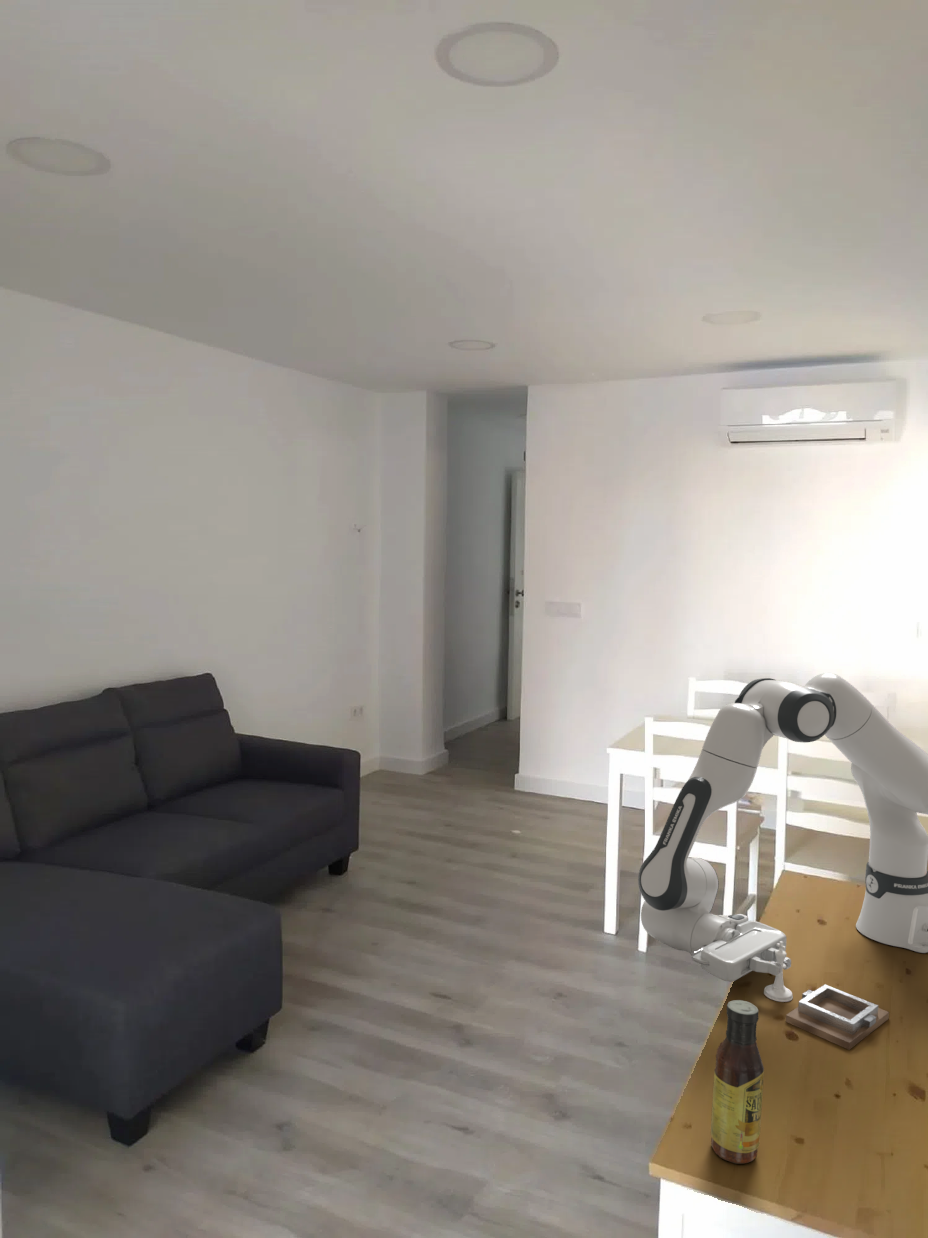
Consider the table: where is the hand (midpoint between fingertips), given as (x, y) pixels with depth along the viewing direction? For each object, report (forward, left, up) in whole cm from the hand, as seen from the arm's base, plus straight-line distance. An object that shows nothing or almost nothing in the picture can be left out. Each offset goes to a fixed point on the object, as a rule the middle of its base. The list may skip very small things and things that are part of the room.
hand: (784, 967), depth 160 cm
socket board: (-5, +9, -6) cm, 12 cm away
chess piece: (0, -1, -6) cm, 6 cm away
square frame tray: (-5, +9, -4) cm, 11 cm away
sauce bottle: (+29, +36, -6) cm, 47 cm away
